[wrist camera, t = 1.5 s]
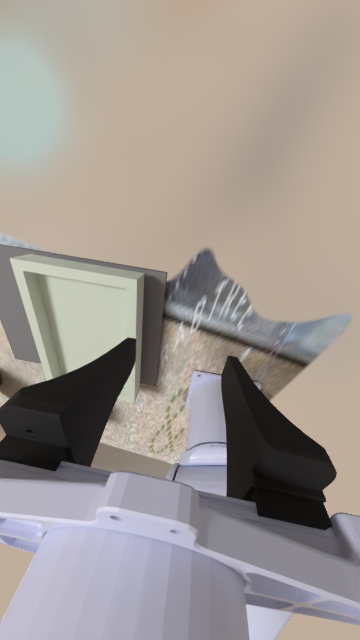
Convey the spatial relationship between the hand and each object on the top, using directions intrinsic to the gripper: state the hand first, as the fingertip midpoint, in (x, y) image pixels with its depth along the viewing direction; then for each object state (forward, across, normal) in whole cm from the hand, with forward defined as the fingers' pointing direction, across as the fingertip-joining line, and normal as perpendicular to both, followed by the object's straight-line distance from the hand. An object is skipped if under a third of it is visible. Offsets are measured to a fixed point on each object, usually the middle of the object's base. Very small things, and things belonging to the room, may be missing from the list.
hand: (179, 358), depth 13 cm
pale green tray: (+9, +11, +5) cm, 15 cm away
